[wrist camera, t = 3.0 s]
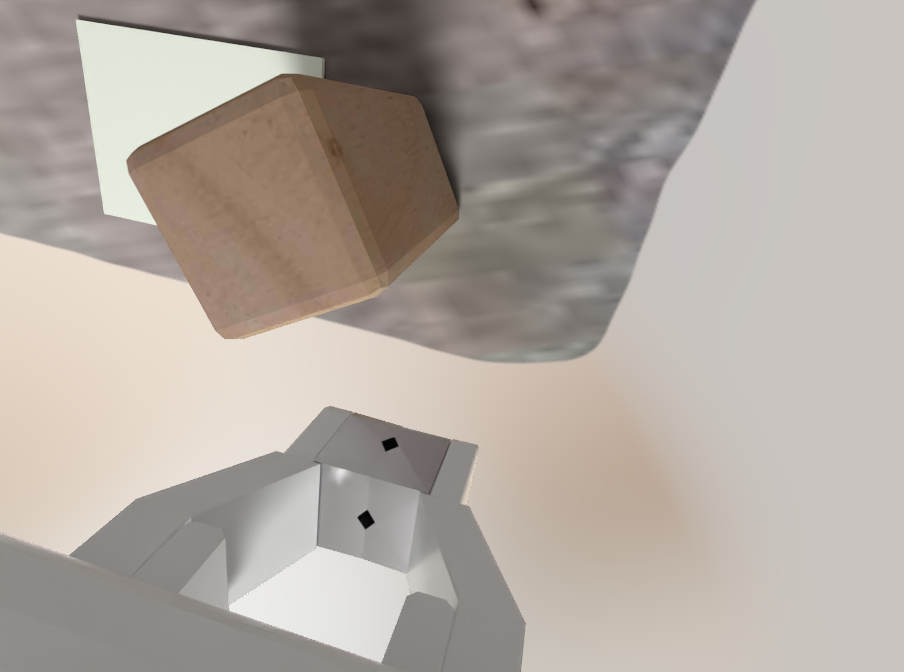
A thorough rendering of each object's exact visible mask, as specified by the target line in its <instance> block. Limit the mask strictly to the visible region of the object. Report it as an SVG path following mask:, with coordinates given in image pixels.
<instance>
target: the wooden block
mask: <svg viewBox="0 0 904 672" xmlns="http://www.w3.org/2000/svg"><path fill="white" fill-rule="evenodd" d="M126 162H127V168H128V173H129V176H130V177H131V179H132V181H133V183H134V185H135V186H136V188H137V190H138V192H139V194H140V195H141V197H142V199H143V201H144V203H145V204H146V206H147V208H148V210H149V212H150V213H151V215H152V217H153V219H154V221H155V222H156V224H157V226H158V228H159V230H160V232H161V233H162V235H163V237H164V239H165V241H166V242H167V244H168V246H169V248H170V250H171V251H172V253H173V255H174V257H175V259H176V260H177V262H178V264H179V266H180V268H181V269H182V271H183V273H184V275H185V277H186V279H187V280H188V282H189V284H190V286H191V288H192V289H193V291H194V293H195V295H196V297H197V298H198V300H199V302H200V304H201V306H202V307H203V309H204V311H205V313H206V315H207V316H208V318H209V320H210V322H211V324H212V326H213V327H214V329H215V330H216V331H217V332H218V333H219V334H220V335H221V336H222V337H223V338H224V339H244V338H247V337H250V336H253V335H257V334H260V333H263V332H266V331H269V330H272V329H276V328H279V327H282V326H285V325H288V324H291V323H295V322H298V321H301V320H304V319H307V318H310V317H313V316H317V315H320V314H323V313H326V312H329V311H332V310H335V309H339V308H342V307H345V306H348V305H351V304H354V303H357V302H361V301H364V300H367V299H370V298H373V297H376V296H378V295H379V294H380V293H381V292H382V291H384V290H385V289H386V288H387V287H388V286H389V285H390V284H391V283H392V282H393V281H394V280H395V279H396V278H397V277H398V276H399V275H400V274H402V273H403V272H404V271H405V270H406V269H407V268H408V267H409V266H410V265H411V264H412V263H413V262H414V261H415V260H416V259H417V258H418V257H419V256H420V255H421V254H423V253H424V252H425V251H426V250H427V249H428V248H429V247H430V246H431V245H432V244H433V243H434V242H435V241H436V240H437V239H438V238H439V237H440V236H441V235H443V234H444V233H445V232H446V231H447V230H448V229H449V228H450V227H451V226H452V225H453V224H454V223H455V222H456V221H457V220H458V219H459V208H458V205H457V202H456V200H455V197H454V194H453V191H452V188H451V185H450V183H449V180H448V177H447V174H446V171H445V168H444V166H443V163H442V160H441V157H440V154H439V151H438V149H437V146H436V143H435V140H434V137H433V134H432V132H431V129H430V126H429V123H428V120H427V117H426V115H425V112H424V109H423V106H422V104H421V103H420V102H419V101H418V99H417V98H416V97H415V96H410V95H405V94H400V93H395V92H390V91H385V90H379V89H374V88H369V87H364V86H359V85H354V84H349V83H344V82H338V81H333V80H328V79H323V78H318V77H313V76H308V75H302V74H283V73H282V74H280V75H278V76H276V77H274V78H272V79H270V80H268V81H266V82H264V83H262V84H260V85H258V86H256V87H254V88H252V89H250V90H248V91H246V92H244V93H242V94H240V95H238V96H237V97H235V98H233V99H231V100H229V101H227V102H225V103H223V104H221V105H219V106H217V107H215V108H213V109H211V110H209V111H207V112H205V113H203V114H201V115H199V116H197V117H195V118H193V119H191V120H190V121H188V122H186V123H184V124H182V125H180V126H178V127H176V128H174V129H172V130H170V131H168V132H166V133H164V134H162V135H160V136H158V137H156V138H154V139H152V140H150V141H148V142H146V143H145V144H143V145H141V146H139V147H138V148H137V149H136V150H134V151H133V152H132V153H131V154H130V156H129V157H128V158H127V160H126Z"/></svg>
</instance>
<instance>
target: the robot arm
mask: <svg viewBox="0 0 904 672" xmlns="http://www.w3.org/2000/svg"><path fill="white" fill-rule="evenodd" d="M478 449H479V447H478V445H476V444H471V443H467V442H462V441H459V440H454V439H453V440H450V439H447V438H443V437H439V436H435V435H431V434H428V433H423V432H420V431H416V430H412V429H408V428H404V427H402V426H399V425H396V424H392V423H389V422H385V421H382V420H378V419H375V418H372V417H368V416H365V415H361V414H358V413H353V412H351V411H347V410H343V409H339V408H335V407H332V406H329V407H326V408H324V409H323V410H322V412H321V413H320V414H319V415H318V416H317V417H316V418H315V419H314V420H313V421H312V423H311V424H310V425H309V426H308V427H307V428H306V429H305V430H304V431H303V433H302V434H301V435H300V436H299V437H298V438H297V439H296V440H295V441H294V443H293V444H292V445H291V446H290V447H289V448H288V449H287V450H286V451H285V452H284V453H281V452H277V451H275V452H273V453H270V454H267V455H264V456H261V457H258V458H255V459H252V460H249V461H246V462H243V463H240V464H237V465H234V466H232V467H229V468H226V469H223V470H220V471H217V472H214V473H211V474H208V475H205V476H202V477H199V478H197V479H193V480H191V481H188V482H185V483H182V484H179V485H176V486H173V487H170V488H167V489H164V490H161V491H158V492H155V493H153V494H150V495H147V496H144V497H141V498H138V499H136V500H135V501H133V502H132V503H131V504H130V505H129V506H127V507H126V508H125V509H124V510H123V511H121V512H120V513H119V514H118V515H117V516H115V517H114V518H113V519H112V520H111V521H109V522H108V523H107V524H106V525H105V526H104V527H102V528H101V529H100V530H99V531H98V532H96V533H95V534H94V535H93V536H92V537H90V538H89V539H88V540H87V541H86V542H85V543H83V544H82V545H81V546H80V547H78V548H77V549H76V550H75V551H74V552H73V553H71V554H70V555H69V556H67V555H65V554H62V553H59V552H56V551H53V550H50V549H47V548H44V547H41V546H39V545H36V544H33V543H30V542H27V541H24V540H21V539H18V538H15V537H12V536H9V535H7V534H4V533H1V532H0V672H521V664H522V655H523V645H524V635H525V634H524V633H525V624H526V623H525V621H524V619H523V617H522V615H521V613H520V611H519V608H518V606H517V604H516V602H515V600H514V598H513V596H512V594H511V592H510V590H509V588H508V586H507V584H506V581H505V580H504V577H503V575H502V573H501V571H500V569H499V567H498V565H497V563H496V561H495V559H494V556H493V554H492V553H491V550H490V548H489V546H488V544H487V542H486V540H485V538H484V536H483V534H482V532H481V529H480V527H479V525H478V523H477V521H476V519H475V517H474V515H473V513H472V511H471V509H470V507H469V506H466V505H467V501H468V497H469V492H470V488H471V483H472V478H473V473H474V469H475V464H476V460H477V456H478ZM316 546H319V547H323V548H327V549H331V550H334V551H337V552H341V553H345V554H348V555H352V556H355V557H359V558H363V559H365V560H368V561H371V562H374V563H377V564H380V565H383V566H386V567H388V568H391V569H394V570H397V571H400V572H403V573H406V574H407V580H408V584H409V589H410V593H411V595H409V596H407V597H406V600H405V603H404V605H403V608H402V611H401V613H400V616H399V618H398V621H397V624H396V626H395V629H394V632H393V634H392V637H391V640H390V642H389V645H388V647H387V650H386V653H385V655H384V658H383V661H382V663H379V662H376V661H373V660H371V659H368V658H365V657H362V656H359V655H356V654H353V653H350V652H347V651H344V650H341V649H338V648H336V647H333V646H330V645H327V644H324V643H321V642H318V641H315V640H312V639H309V638H306V637H303V636H300V635H298V634H294V633H292V632H289V631H286V630H283V629H280V628H277V627H274V626H272V625H269V624H266V623H263V622H260V621H256V620H254V619H251V618H248V617H245V616H242V615H240V614H237V613H234V612H231V611H229V605H230V604H232V603H233V602H235V601H236V600H238V599H239V598H241V597H242V596H244V595H246V594H247V593H249V592H250V591H252V590H253V589H255V588H256V587H258V586H259V585H261V584H262V583H264V582H266V581H267V580H269V579H270V578H272V577H273V576H275V575H276V574H278V573H279V572H281V571H282V570H284V569H285V568H287V567H289V566H290V565H292V564H293V563H295V562H296V561H298V560H299V559H301V558H302V557H304V556H306V555H307V554H308V553H310V552H312V551H313V550H315V549H316Z"/></svg>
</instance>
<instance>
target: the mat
mask: <svg viewBox="0 0 904 672" xmlns="http://www.w3.org/2000/svg"><path fill="white" fill-rule="evenodd" d="M76 24H77V30H78V37H79V44H80V51H81V58H82V65H83V72H84V78H85V85H86V92H87V99H88V106H89V113H90V120H91V126H92V133H93V140H94V147H95V154H96V161H97V168H98V174H99V181H100V188H101V195H102V202H103V209H104V214H108V215H113V216H117V217H122V218H126V219H131V220H135V221H140V222H144V223H149V224H153V225H157V224H156V222H155V221H154V219H153V217H152V215H151V213H150V212H149V210H148V208H147V206H146V204H145V203H144V201H143V199H142V197H141V195H140V194H139V192H138V190H137V188H136V186H135V185H134V183H133V181H132V179H131V177H130V176H129V173H128V168H127V162H126V160H127V158H128V157H129V156H130V154H131V153H132V152H133V151H134V150H136V149H137V148H138V147H139V146H141V145H143V144H145V143H146V142H148V141H150V140H152V139H154V138H156V137H158V136H160V135H162V134H164V133H166V132H168V131H170V130H172V129H174V128H176V127H178V126H180V125H182V124H184V123H186V122H188V121H190V120H191V119H193V118H195V117H197V116H199V115H201V114H203V113H205V112H207V111H209V110H211V109H213V108H215V107H217V106H219V105H221V104H223V103H225V102H227V101H229V100H231V99H233V98H235V97H237V96H238V95H240V94H242V93H244V92H246V91H248V90H250V89H252V88H254V87H256V86H258V85H260V84H262V83H264V82H266V81H268V80H270V79H272V78H274V77H276V76H278V75H280V74H282V73H283V74H302V75H308V76H313V77H318V78H323V79H324V71H325V59H324V58H319V57H313V56H306V55H300V54H294V53H287V52H281V51H274V50H268V49H262V48H255V47H249V46H242V45H236V44H230V43H223V42H217V41H210V40H204V39H198V38H191V37H185V36H178V35H172V34H166V33H159V32H153V31H146V30H140V29H134V28H127V27H121V26H115V25H108V24H102V23H95V22H89V21H83V20H76Z"/></svg>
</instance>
